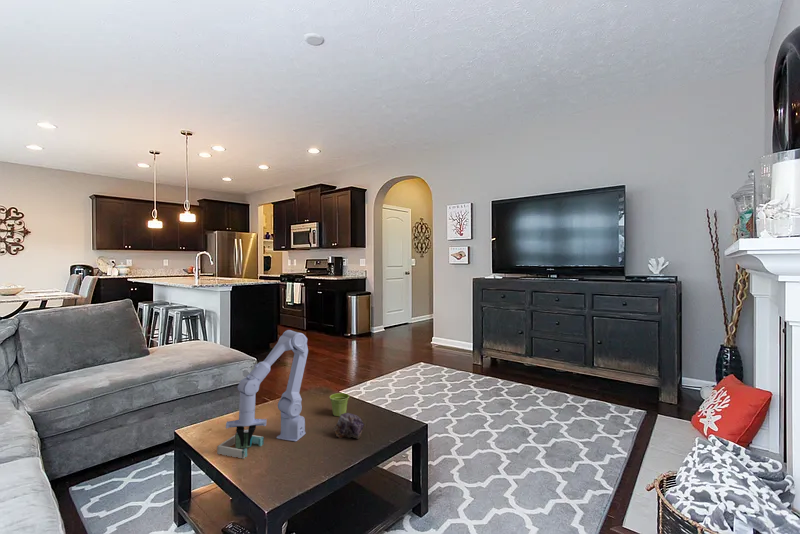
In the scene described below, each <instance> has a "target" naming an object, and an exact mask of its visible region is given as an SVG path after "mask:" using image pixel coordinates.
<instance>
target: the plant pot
mask: <svg viewBox="0 0 800 534" xmlns="http://www.w3.org/2000/svg"><path fill="white" fill-rule="evenodd" d="M349 398H350V394H348V393H345V392H338V393H332V394H331V395H329V399H330V402H331V408H332V415H333V416H335V417H340V415H341V414H344V413H347V409H348V401H349Z"/></svg>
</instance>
